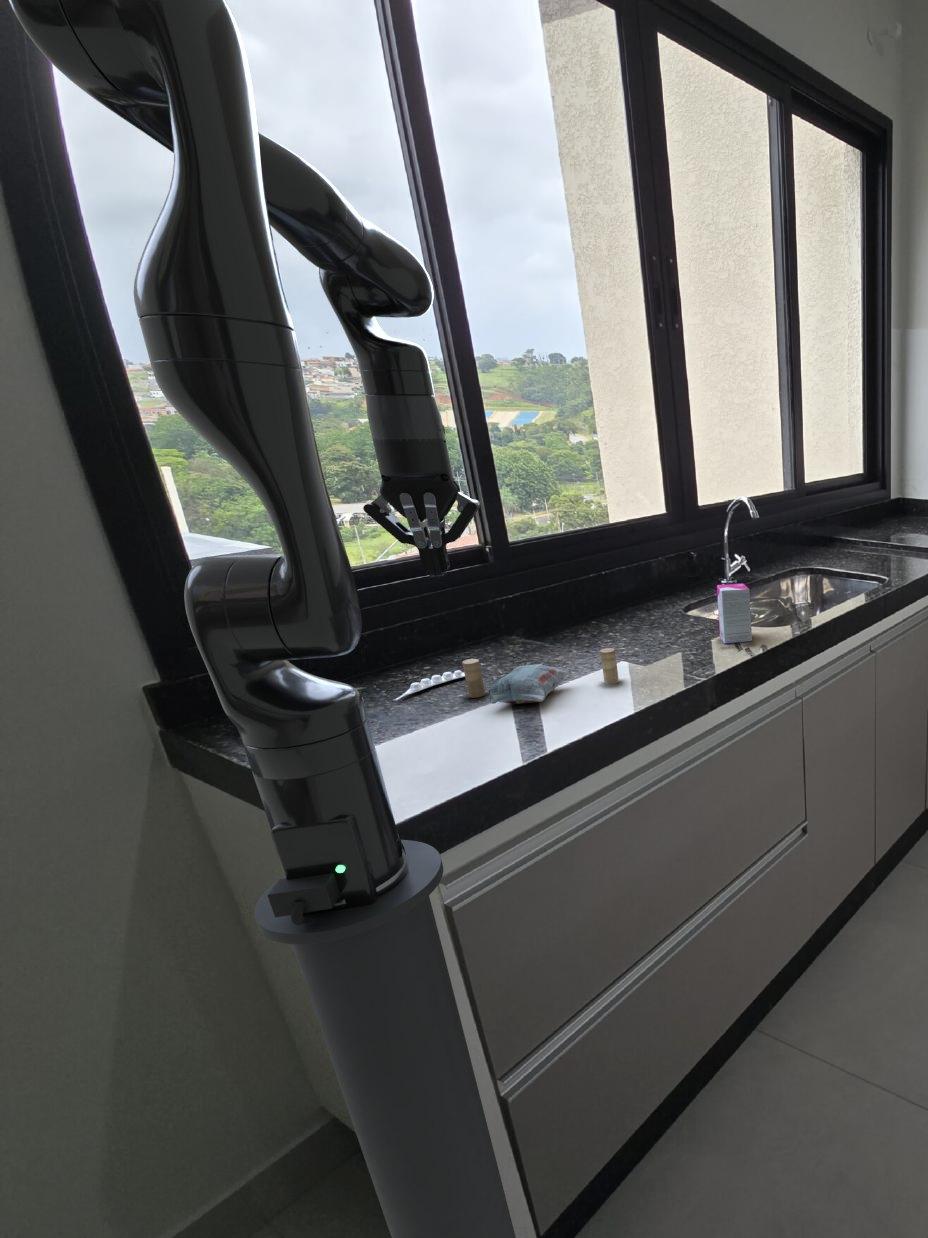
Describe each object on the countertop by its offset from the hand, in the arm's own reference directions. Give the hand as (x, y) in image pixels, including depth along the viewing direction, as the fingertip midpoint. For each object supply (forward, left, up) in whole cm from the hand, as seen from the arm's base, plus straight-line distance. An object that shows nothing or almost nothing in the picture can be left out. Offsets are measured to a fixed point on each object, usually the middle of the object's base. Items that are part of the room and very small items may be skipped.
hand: (438, 575), depth 96 cm
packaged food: (+18, -6, -25) cm, 32 cm away
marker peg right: (+22, -18, -25) cm, 38 cm away
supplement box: (+40, -41, -25) cm, 62 cm away
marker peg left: (+22, +3, -25) cm, 33 cm away
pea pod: (+29, +11, -25) cm, 40 cm away
